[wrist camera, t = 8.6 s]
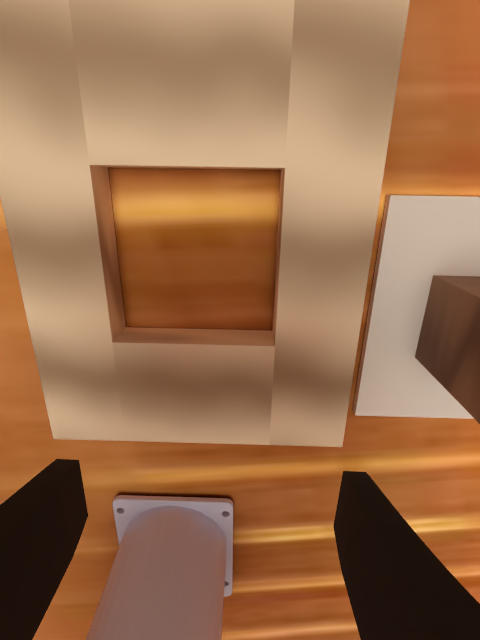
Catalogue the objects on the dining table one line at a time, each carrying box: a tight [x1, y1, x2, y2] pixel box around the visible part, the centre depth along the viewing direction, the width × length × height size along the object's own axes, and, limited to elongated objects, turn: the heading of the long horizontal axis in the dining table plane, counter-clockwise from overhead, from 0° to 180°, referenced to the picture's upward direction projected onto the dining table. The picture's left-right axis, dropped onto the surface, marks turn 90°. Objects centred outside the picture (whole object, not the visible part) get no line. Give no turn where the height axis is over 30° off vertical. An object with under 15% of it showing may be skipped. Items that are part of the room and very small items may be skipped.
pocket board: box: [0, 0, 410, 447], centre depth 17 cm, size 20×16×2 cm
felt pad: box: [353, 195, 480, 419], centre depth 18 cm, size 12×10×1 cm
